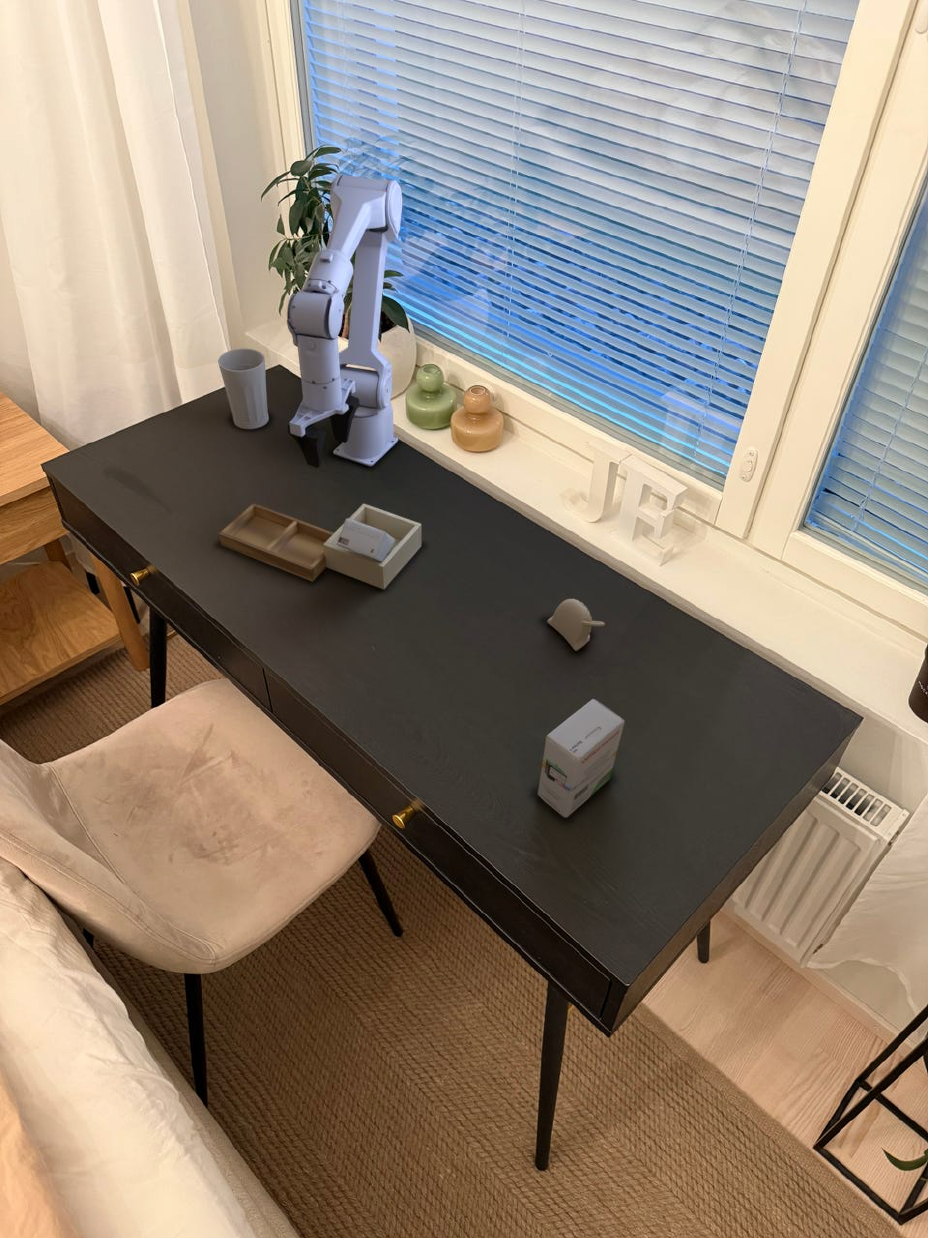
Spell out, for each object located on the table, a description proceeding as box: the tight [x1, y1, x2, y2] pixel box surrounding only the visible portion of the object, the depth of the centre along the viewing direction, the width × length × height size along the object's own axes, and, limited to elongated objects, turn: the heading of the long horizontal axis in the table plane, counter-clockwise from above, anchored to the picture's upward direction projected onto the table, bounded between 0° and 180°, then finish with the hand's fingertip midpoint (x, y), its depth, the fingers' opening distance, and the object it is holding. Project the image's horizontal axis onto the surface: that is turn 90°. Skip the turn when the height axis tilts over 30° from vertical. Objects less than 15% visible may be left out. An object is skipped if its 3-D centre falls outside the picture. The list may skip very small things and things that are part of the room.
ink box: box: [537, 698, 626, 819], centre depth 105 cm, size 8×5×12 cm, turn 134°
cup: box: [217, 348, 270, 430], centre depth 159 cm, size 8×8×12 cm
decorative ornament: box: [546, 598, 606, 652], centre depth 125 cm, size 4×8×5 cm, turn 32°
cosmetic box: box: [337, 517, 395, 563], centre depth 130 cm, size 6×4×12 cm
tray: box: [218, 502, 335, 583], centre depth 138 cm, size 9×17×2 cm, turn 63°
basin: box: [323, 503, 422, 590], centre depth 136 cm, size 11×10×4 cm
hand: (327, 452), depth 139 cm, fingers open, 7 cm apart
